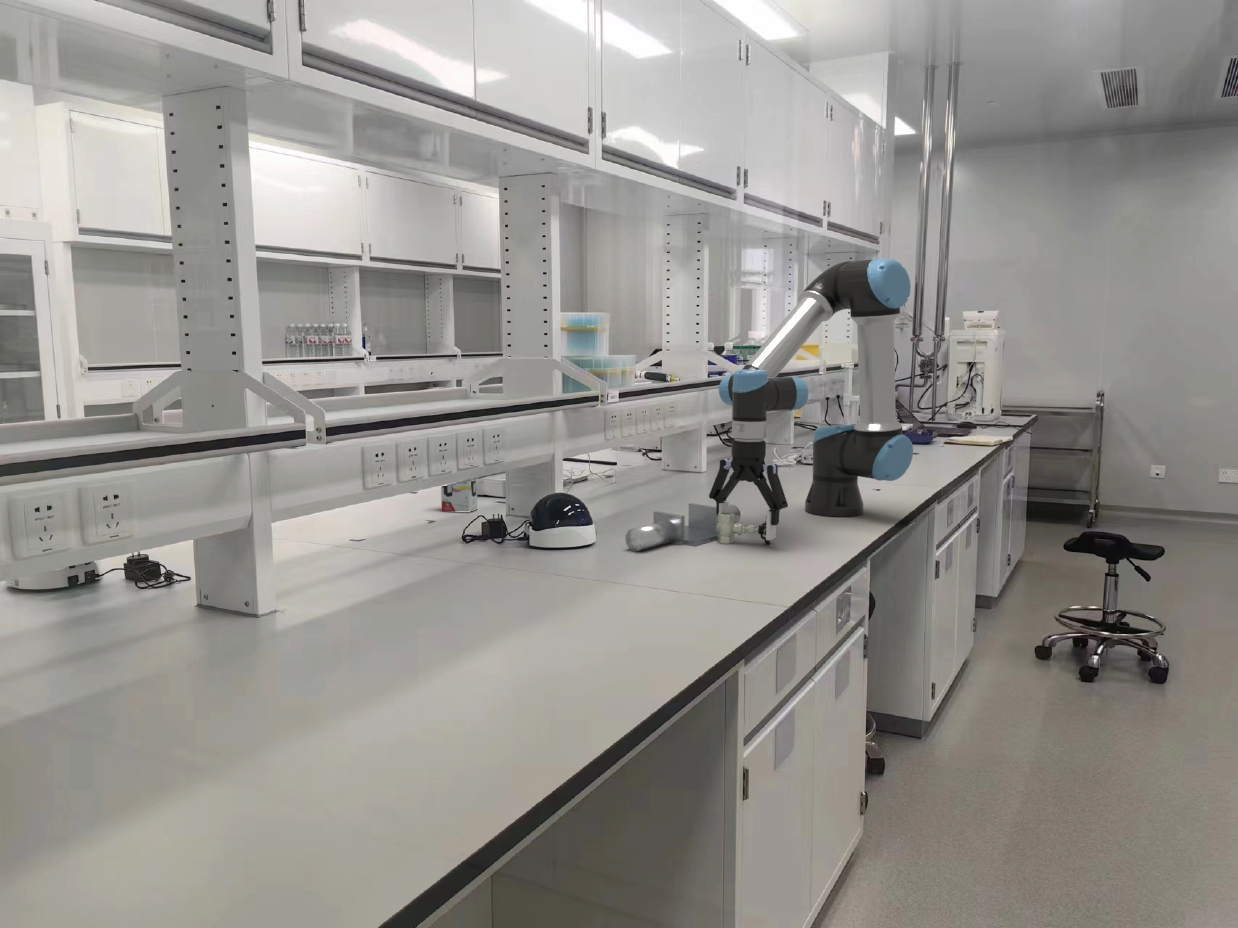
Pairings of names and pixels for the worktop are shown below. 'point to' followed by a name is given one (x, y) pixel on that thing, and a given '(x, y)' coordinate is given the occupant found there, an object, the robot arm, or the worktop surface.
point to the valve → (736, 528)
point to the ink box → (459, 497)
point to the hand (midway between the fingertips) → (746, 534)
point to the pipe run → (679, 528)
